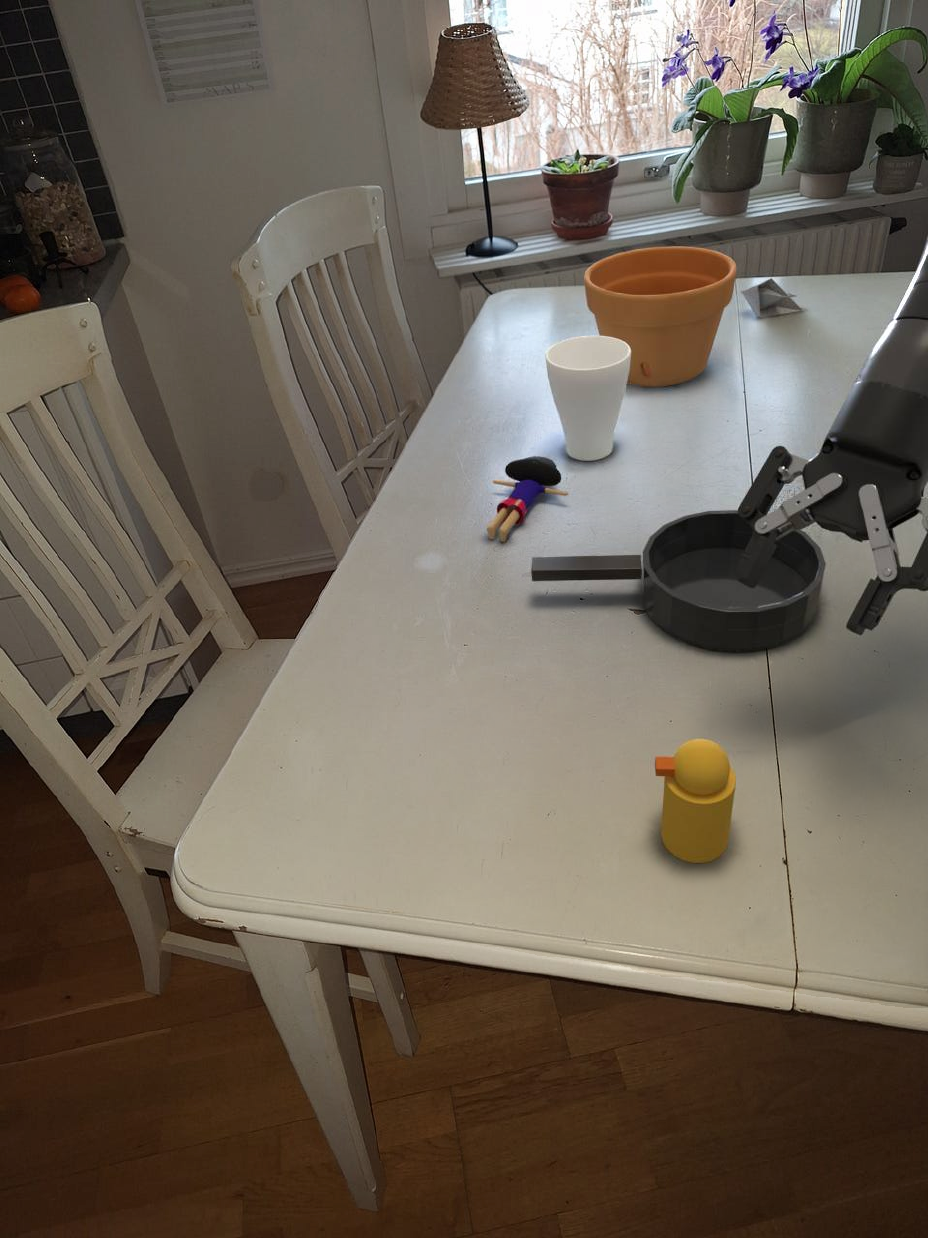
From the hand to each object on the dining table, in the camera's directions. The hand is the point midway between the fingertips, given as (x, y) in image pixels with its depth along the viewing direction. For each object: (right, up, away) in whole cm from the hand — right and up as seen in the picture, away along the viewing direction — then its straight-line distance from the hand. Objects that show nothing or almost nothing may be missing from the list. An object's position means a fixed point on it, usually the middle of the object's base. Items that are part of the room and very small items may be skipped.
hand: (797, 607), depth 64 cm
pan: (+3, +1, +27) cm, 27 cm away
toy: (-17, +12, +44) cm, 48 cm away
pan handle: (-12, +4, +27) cm, 29 cm away
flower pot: (+5, +37, +71) cm, 80 cm away
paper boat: (+26, +49, +82) cm, 99 cm away
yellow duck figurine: (-6, -18, +4) cm, 19 cm away
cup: (-8, +21, +53) cm, 58 cm away
